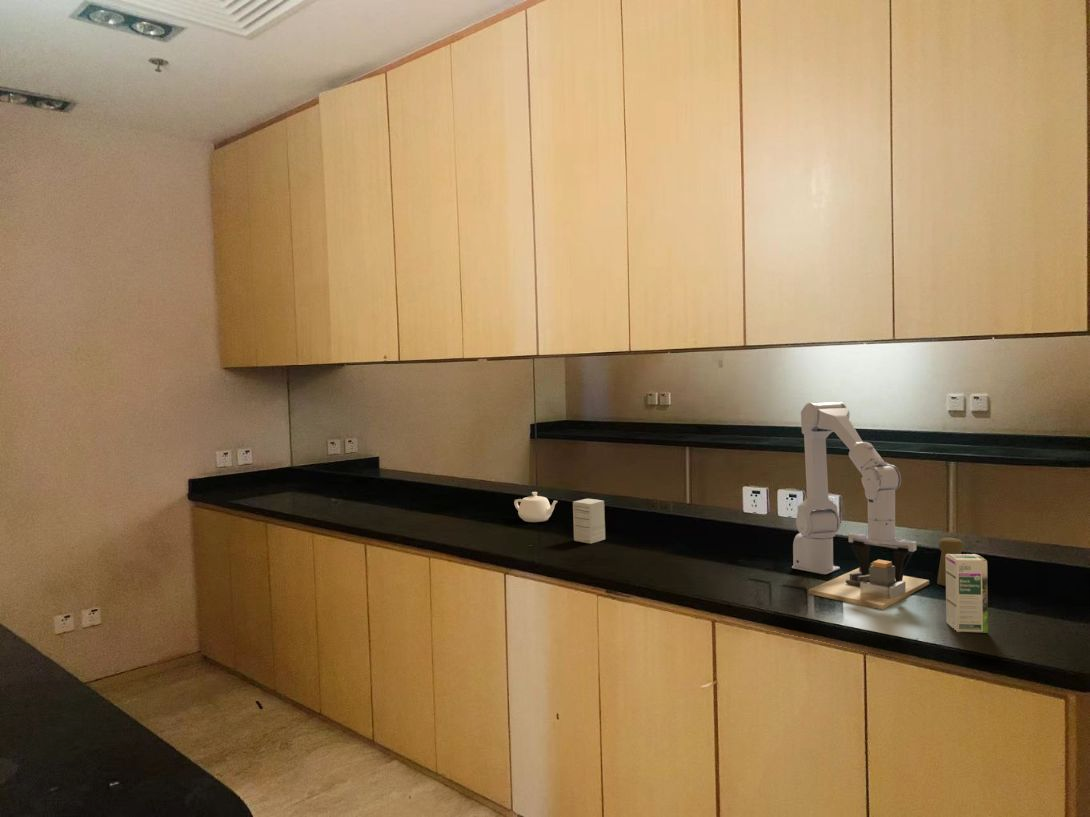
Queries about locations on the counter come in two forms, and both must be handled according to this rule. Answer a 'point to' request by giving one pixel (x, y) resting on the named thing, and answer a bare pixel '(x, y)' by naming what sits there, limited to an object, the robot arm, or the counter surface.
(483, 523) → the counter surface
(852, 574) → the middle clip
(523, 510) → the teapot
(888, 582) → the grey upright block
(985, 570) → the syrup box
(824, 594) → the board
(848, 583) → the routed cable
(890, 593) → the end holder
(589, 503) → the supplement box
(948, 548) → the cork
